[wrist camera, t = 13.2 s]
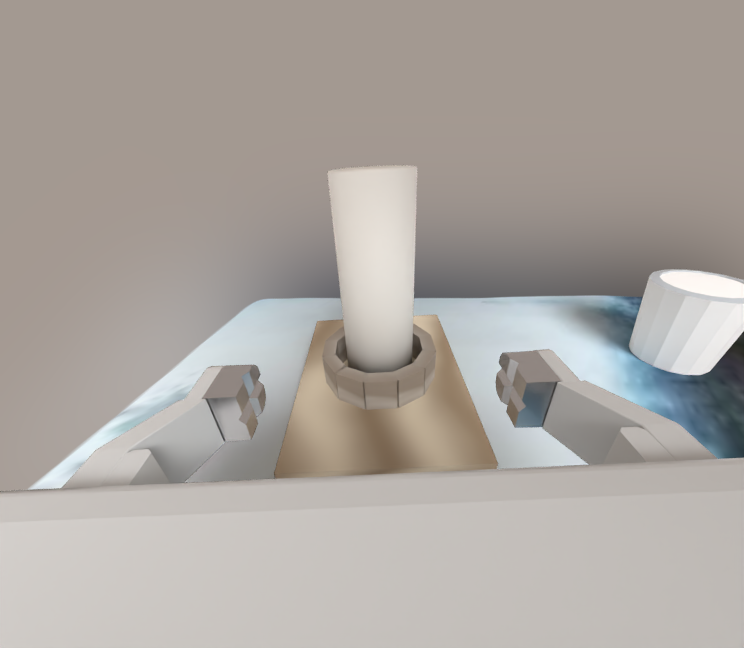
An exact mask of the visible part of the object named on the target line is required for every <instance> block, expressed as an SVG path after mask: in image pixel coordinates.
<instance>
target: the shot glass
mask: <svg viewBox="0 0 744 648" xmlns="http://www.w3.org/2000/svg"><path fill="white" fill-rule="evenodd" d="M743 331H744V280H742V279H738V278H733V277H730V276H726V275H721V274H716V273H710V272H704V271H696V270H683V269H669V270H660V271H656V272H653V273H652V274H651V275H650V276H649V279H648V282H647V286H646V289H645V293H644V296H643V299H642V302H641V306H640V309H639V313H638V316H637V319H636V323H635V326H634V329H633V333H632V336H631V339H630V343H629V348H630V350H631V352H632V353H633V354H634V355H635V356H637V357H638V358H639V359H640V360H642V361H644V362H646V363H648V364H650V365H652V366H654V367H657V368H660V369H663V370H666V371H669V372H673V373H679V374H684V375H702V374H704V373H707V372H710V370H711V369H712V368H713V367H714V366H715V364H716V363H717V362H718V361H719V360H720V359H721V357H722V356H723V355H724V354H725V353H726V351H727V350H728V349H729V348H730V347H731V345H732V344H733V343H734V342H735V341H736V340H737V338H738V337H739V336H740V335H741V334H742V332H743Z"/></svg>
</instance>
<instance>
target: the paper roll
mask: <svg viewBox="0 0 744 648" xmlns="http://www.w3.org/2000/svg"><path fill="white" fill-rule="evenodd" d="M327 173H328V182H329V190H330V201H331V210H332V219H333V229H334V238H335V247H336V256H337V266H338V275H339V284H340V294H341V303H342V313H343V322H344V331H345V341H346V350H347V359H348V367H350V368H353V369H356V370H359V371H362V372H365V373H380V372H394V371H396V370H398V369H401V368H403V367H405V366H407V365H410V364H412V344H413V306H414V268H415V231H416V228H415V227H416V193H417V167H416V166H406V165H405V166H403V165H396V166H395V165H388V166H365V167H351V168H342V169H335V170H330V171H328V172H327Z"/></svg>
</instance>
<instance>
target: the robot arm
mask: <svg viewBox="0 0 744 648" xmlns="http://www.w3.org/2000/svg"><path fill="white" fill-rule="evenodd" d="M499 364H500V365H501V367H502V369H501V370H500V371H499V372H498V373H497V376H496V390H497V393H498V396H499V398H500V400H501V402H503V403H505V404H506V405H508V407H507V411H506V412H507V414H508V415H509V417H510V419H511V421H512V423H513V425H514V427H515V428H518V427H543V429H544V430H545V431H547V432H548V433H549V434H550V435H552V436H553V437H554V438H556V439H557V440H558V441H559V442H561V443H562V444H563V445H565V446H566V447H567V448H568V449H570V450H571V451H572V452H574V453H575V454H576V455H577V456H579V457H580V458H581V459H582V460H584V461H585V462H586V463H588V464H589V465H574V466H552V467H530V468H507V469H484V470H461V471H438V472H415V473H393V474H371V475H349V476H326V477H304V478H282V479H259V480H237V481H214V482H192V483H184V482H185V481H186V480H187V479H188V478H189V477H190V476H191V475H192V474H193V473H194V472H195V471H196V470H197V469H198V468H199V467H201V466H202V465H203V464H204V463H205V462H206V461H207V460H208V459H209V458H210V457H211V456H212V455H213V454H214V453H215V452H216V451H217V450H218V449H219V448H220V447H221V446H222V445H223V444H224V443H225V442H228V441H241V440H251V439H252V437H253V434H254V432H255V429H256V427H257V424H258V422H257V419H256V417H257V416H259V415H260V414H261V413H262V412H263V409H264V406H265V399H266V395H265V389H264V385H263V384H262V383H260V382H259V381H258V379H259V376H260V372H259V369H258V367H257V366H256V365H230V366H211V367H208V368H207V369H206V370H205V372H204V373H203V374H202V376H201V377H200V378H199V380H198V381H197V383H196V384H195V385H194V387H193V388H192V389H191V391H190V392H189V393H188V395H187V396H186V398H185V399H184V400H179V401H177V402H175V403H174V404H172V405H170V406H169V407H167V408H165V409H164V410H162V411H160V412H159V413H157V414H155V415H153V416H152V417H150V418H148V419H147V420H145V421H143V422H142V423H140V424H138V425H137V426H135V427H133V428H132V429H130V430H128V431H127V432H125V433H123V434H122V435H120V436H118V437H117V438H115V439H113V440H112V441H110V442H108V443H107V444H105V445H103V446H102V447H100V448H98V449H97V450H95V451H94V452H93V454H92V455H91V456H90V457H89V458H88V459H87V460H86V461H85V462H84V464H83V465H82V466H81V467H80V468H79V469H78V470H77V471H76V472H75V474H74V475H73V476H72V477H71V478H70V479H69V480H68V481H67V482H66V484H65V485H64V486H63V487H62V488H57V489H34V490H11V491H0V648H744V458H731V459H717V458H716V457H715V456H714V455H713V454H712V453H711V452H709V451H708V450H707V449H706V448H705V447H704V446H703V445H702V444H701V443H699V442H698V441H697V440H696V439H695V438H694V437H693V436H692V435H690V434H689V433H688V432H687V431H686V430H685V429H684V428H683V427H681V426H680V425H679V424H678V423H676V422H673V421H671V420H669V419H667V418H665V417H663V416H660V415H658V414H656V413H654V412H652V411H650V410H648V409H645V408H643V407H641V406H639V405H637V404H635V403H632V402H630V401H628V400H626V399H624V398H622V397H620V396H617V395H615V394H613V393H611V392H609V391H607V390H604V389H602V388H600V387H598V386H596V385H594V384H591V383H589V382H587V381H580V380H579V379H578V378H577V377H576V376H575V375H574V373H573V372H572V371H571V370H570V369H569V368H568V367H567V366H566V365H565V364H564V363H563V361H562V360H561V359H560V358H559V357H558V356H557V355H556V354H555V353H554V352H553V351H552V350H549V349H546V350H534V351H525V352H507V353H502V354H501V356H500V360H499Z"/></svg>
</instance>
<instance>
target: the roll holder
mask: <svg viewBox="0 0 744 648" xmlns="http://www.w3.org/2000/svg"><path fill="white" fill-rule="evenodd" d="M497 465H498V462H497V460H496V458H495V455H494V453H493V450H492V448H491V445H490V443H489V440H488V438H487V436H486V433H485V431H484V428H483V426H482V423H481V421H480V419H479V416H478V414H477V411H476V409H475V406H474V404H473V402H472V399H471V397H470V394H469V392H468V389H467V387H466V385H465V382H464V380H463V377H462V375H461V372H460V370H459V368H458V365H457V363H456V360H455V358H454V355H453V353H452V350H451V348H450V346H449V343H448V341H447V338H446V336H445V333H444V331H443V329H442V326H441V324H440V321H439V319H438V316H437V315H421V316H413V344H412V364H410V365H407V366H405V367H403V368H401V369H398V370H396V371H394V372H380V373H365V372H362V371H359V370H356V369H353V368H350V367H348V359H347V350H346V341H345V331H344V322H343V320H328V321H317V324H316V328H315V331H314V335H313V338H312V342H311V345H310V349H309V352H308V356H307V359H306V363H305V366H304V370H303V373H302V377H301V380H300V384H299V387H298V391H297V394H296V398H295V401H294V405H293V408H292V412H291V415H290V419H289V422H288V426H287V430H286V433H285V437H284V440H283V444H282V447H281V451H280V454H279V458H278V461H277V465H276V468H275V472H274V475H275V478H276V479H282V478H304V477H326V476H349V475H371V474H393V473H415V472H438V471H461V470H484V469H497Z"/></svg>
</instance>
